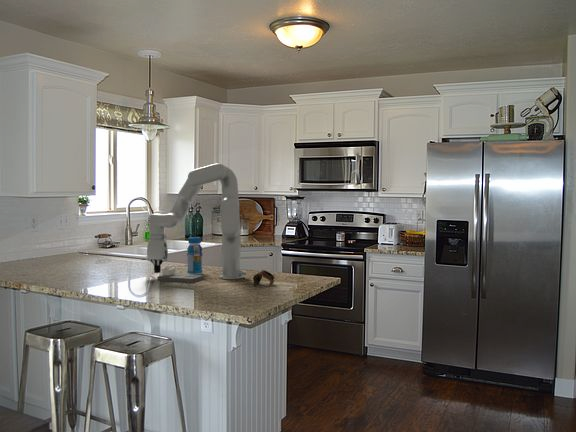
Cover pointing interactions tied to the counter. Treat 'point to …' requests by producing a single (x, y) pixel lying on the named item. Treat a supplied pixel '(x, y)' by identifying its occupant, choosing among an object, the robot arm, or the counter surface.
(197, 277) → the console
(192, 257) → the blue lidded canister
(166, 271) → the fader knob
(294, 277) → the counter surface
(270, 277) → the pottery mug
